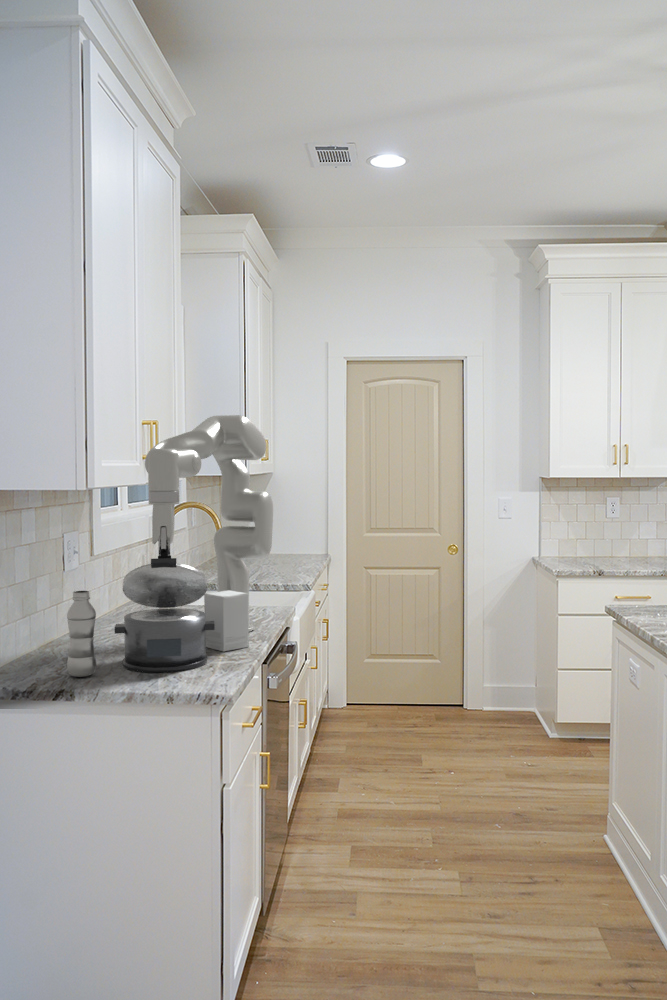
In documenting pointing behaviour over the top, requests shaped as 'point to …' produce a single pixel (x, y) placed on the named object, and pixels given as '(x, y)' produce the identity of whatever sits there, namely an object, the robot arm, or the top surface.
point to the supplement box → (227, 620)
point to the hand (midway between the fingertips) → (164, 571)
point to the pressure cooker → (164, 640)
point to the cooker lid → (164, 584)
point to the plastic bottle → (81, 636)
